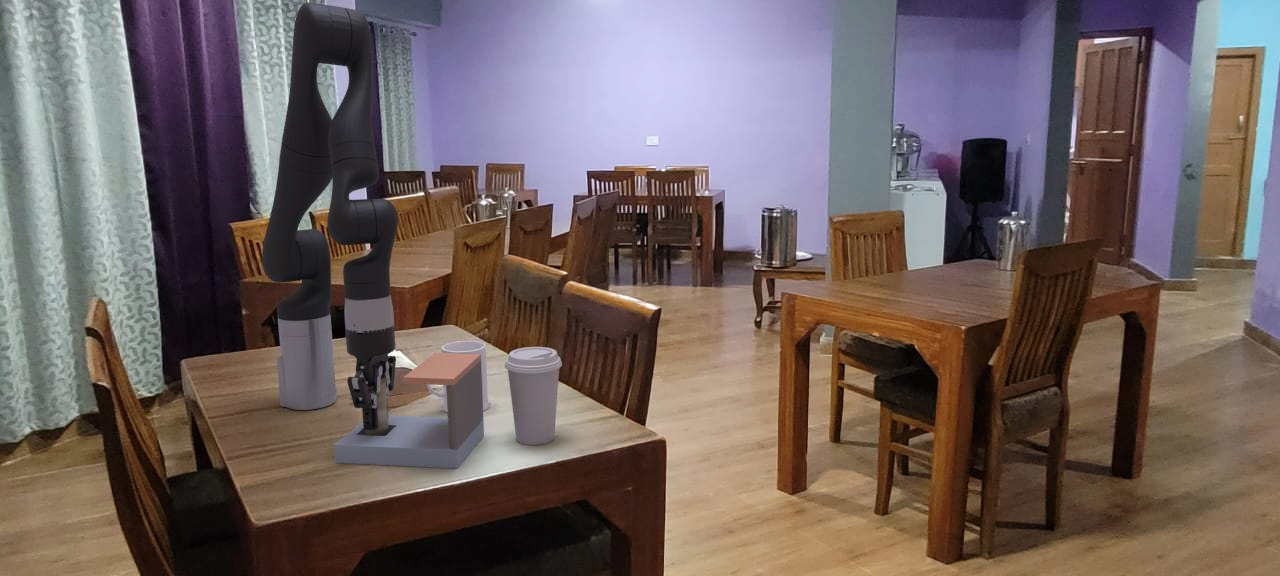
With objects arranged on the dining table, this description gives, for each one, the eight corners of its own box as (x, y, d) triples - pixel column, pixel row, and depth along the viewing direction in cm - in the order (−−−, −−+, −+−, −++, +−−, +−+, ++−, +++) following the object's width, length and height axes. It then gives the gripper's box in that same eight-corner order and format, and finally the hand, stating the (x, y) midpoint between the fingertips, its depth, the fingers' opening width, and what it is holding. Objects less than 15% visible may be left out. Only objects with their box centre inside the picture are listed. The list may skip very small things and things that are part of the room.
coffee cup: (515, 452, 138) (512, 363, 135) (500, 432, 146) (498, 349, 143) (571, 443, 141) (569, 357, 138) (553, 424, 150) (551, 343, 147)
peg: (362, 440, 138) (358, 382, 136) (371, 432, 141) (368, 375, 139) (383, 441, 137) (380, 382, 135) (392, 433, 141) (389, 376, 139)
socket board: (335, 462, 133) (328, 374, 130) (372, 431, 147) (367, 350, 144) (457, 468, 131) (453, 379, 128) (484, 435, 145) (480, 354, 142)
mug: (431, 420, 152) (428, 356, 150) (421, 406, 159) (417, 345, 157) (494, 410, 157) (492, 348, 155) (481, 397, 165) (479, 338, 162)
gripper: (366, 313, 143) (372, 409, 146) (326, 333, 129) (334, 439, 132) (408, 314, 142) (414, 411, 145) (373, 335, 128) (380, 441, 132)
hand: (376, 424), depth 139 cm, fingers closed on peg, 3 cm apart
